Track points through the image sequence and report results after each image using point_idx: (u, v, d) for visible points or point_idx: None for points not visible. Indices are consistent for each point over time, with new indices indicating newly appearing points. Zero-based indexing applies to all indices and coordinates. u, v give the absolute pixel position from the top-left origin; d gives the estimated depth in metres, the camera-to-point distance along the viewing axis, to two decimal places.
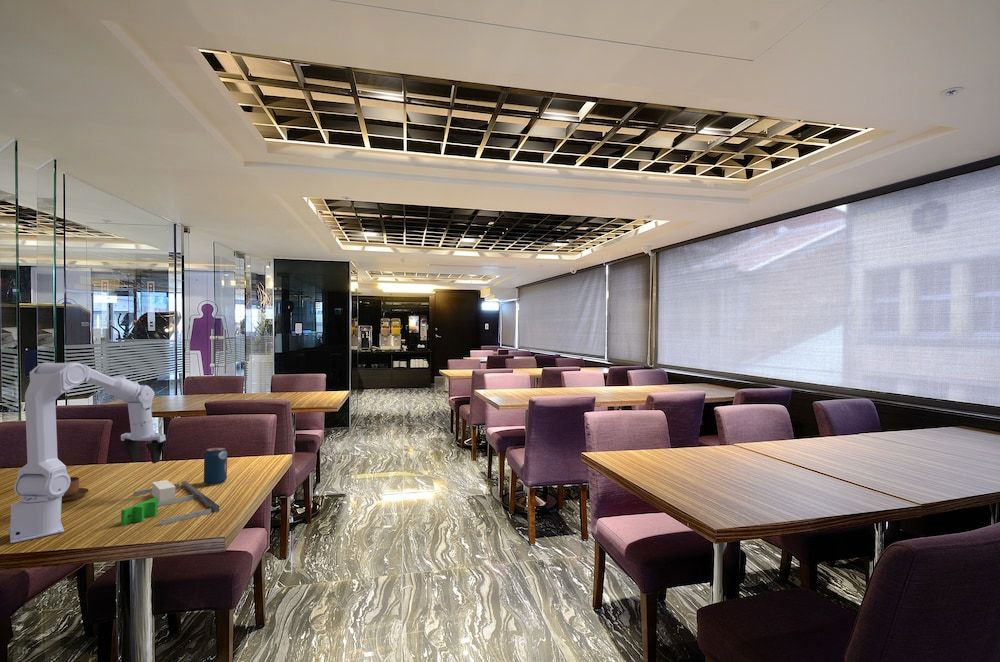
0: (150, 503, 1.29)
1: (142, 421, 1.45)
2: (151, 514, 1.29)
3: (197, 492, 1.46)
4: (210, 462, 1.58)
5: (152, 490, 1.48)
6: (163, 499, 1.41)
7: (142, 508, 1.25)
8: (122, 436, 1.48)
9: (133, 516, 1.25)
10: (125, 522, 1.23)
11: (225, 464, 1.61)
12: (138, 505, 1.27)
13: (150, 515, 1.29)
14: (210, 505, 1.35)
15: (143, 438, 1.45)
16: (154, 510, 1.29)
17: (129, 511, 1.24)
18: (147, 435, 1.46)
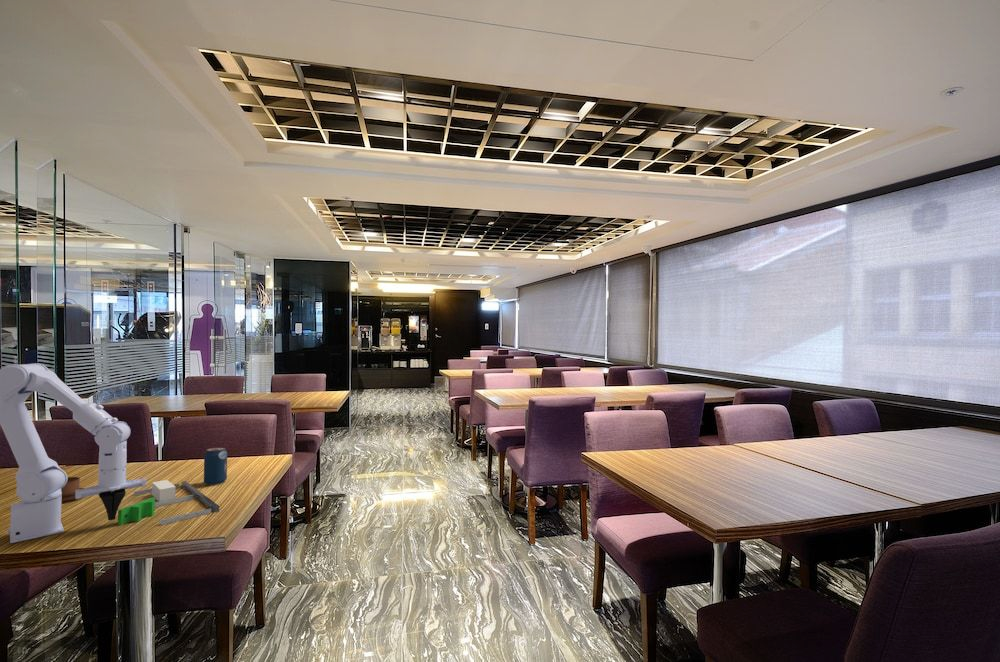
0: (147, 503, 1.29)
1: (100, 468, 1.20)
2: (148, 514, 1.29)
3: (197, 492, 1.46)
4: (210, 462, 1.58)
5: (152, 490, 1.48)
6: (163, 499, 1.41)
7: (139, 508, 1.26)
8: None
9: (130, 516, 1.25)
10: (122, 522, 1.23)
11: (225, 464, 1.61)
12: (135, 505, 1.27)
13: (147, 515, 1.29)
14: (210, 505, 1.35)
15: None
16: (151, 510, 1.30)
17: (126, 511, 1.24)
18: (98, 485, 1.21)
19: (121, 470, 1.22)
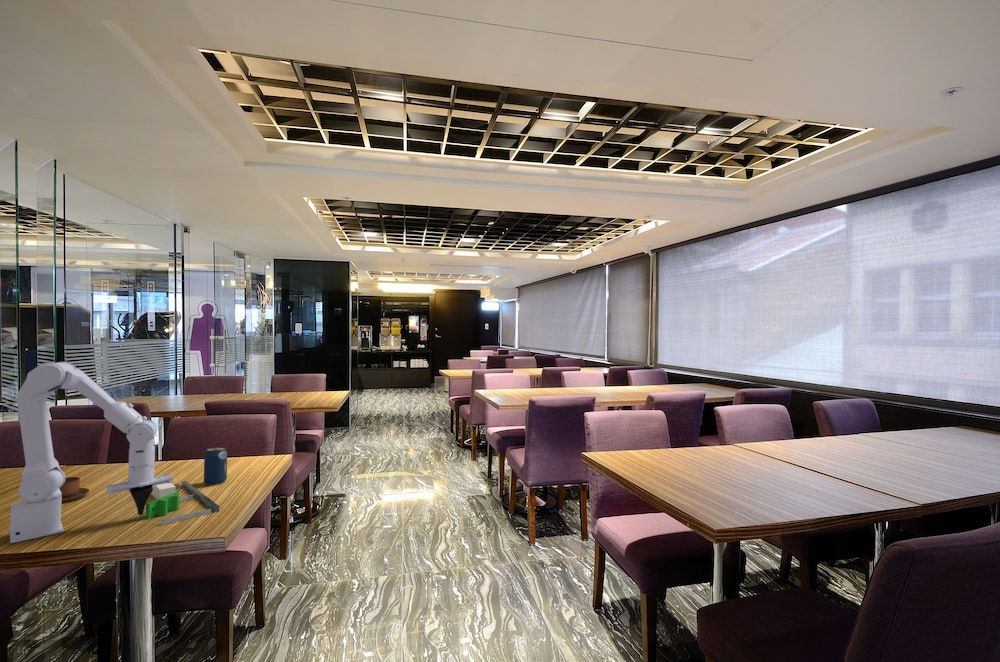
0: (172, 497, 1.34)
1: (131, 465, 1.25)
2: (173, 507, 1.34)
3: (197, 492, 1.46)
4: (210, 462, 1.58)
5: None
6: None
7: (166, 501, 1.30)
8: None
9: (156, 509, 1.30)
10: (150, 515, 1.28)
11: (225, 464, 1.61)
12: (161, 499, 1.31)
13: (172, 508, 1.34)
14: (210, 505, 1.35)
15: None
16: (176, 503, 1.34)
17: (154, 504, 1.29)
18: (128, 481, 1.26)
19: (150, 467, 1.27)
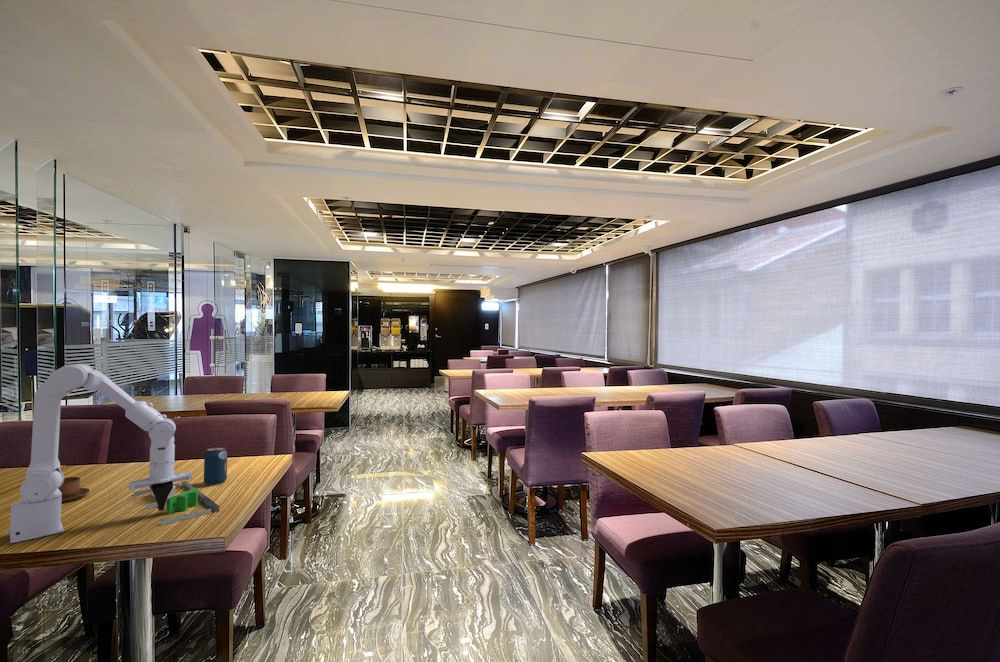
0: (191, 493, 1.37)
1: (153, 461, 1.28)
2: (192, 503, 1.37)
3: None
4: (210, 462, 1.58)
5: None
6: None
7: (186, 497, 1.34)
8: None
9: (177, 505, 1.33)
10: (170, 510, 1.31)
11: (225, 464, 1.61)
12: (181, 495, 1.35)
13: (191, 504, 1.37)
14: (210, 505, 1.35)
15: None
16: (195, 499, 1.38)
17: (174, 500, 1.33)
18: (149, 477, 1.30)
19: (170, 464, 1.31)
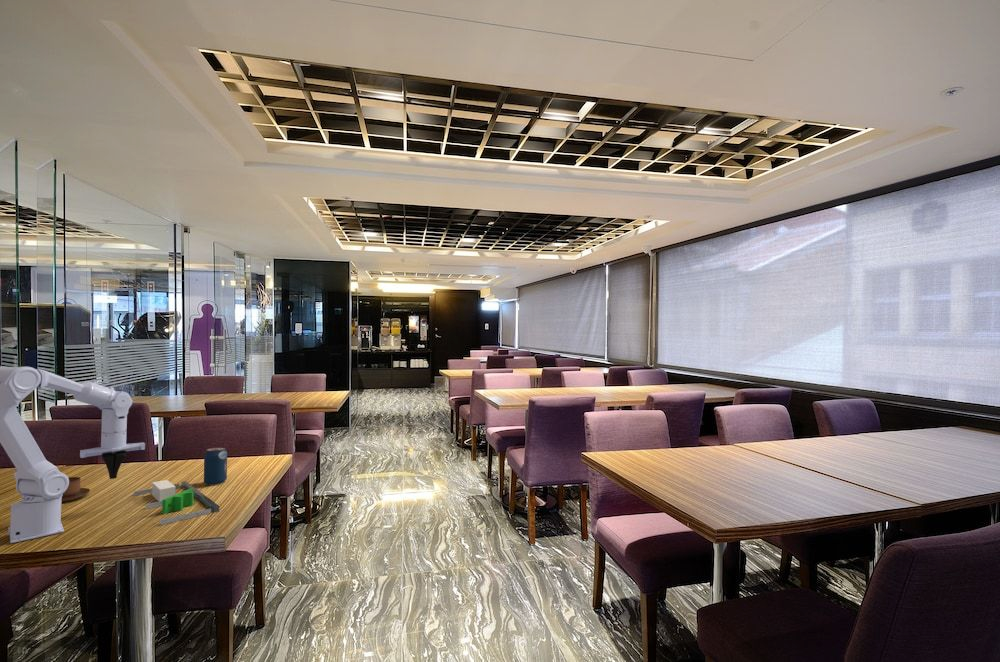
0: (187, 493, 1.38)
1: (113, 430, 1.33)
2: (188, 504, 1.38)
3: (197, 492, 1.46)
4: (210, 462, 1.58)
5: (152, 490, 1.48)
6: None
7: (181, 498, 1.34)
8: None
9: (172, 506, 1.34)
10: (166, 511, 1.31)
11: (225, 464, 1.61)
12: (177, 495, 1.35)
13: (187, 505, 1.37)
14: (210, 505, 1.35)
15: None
16: (191, 500, 1.38)
17: (170, 500, 1.33)
18: (101, 447, 1.33)
19: (122, 433, 1.34)
